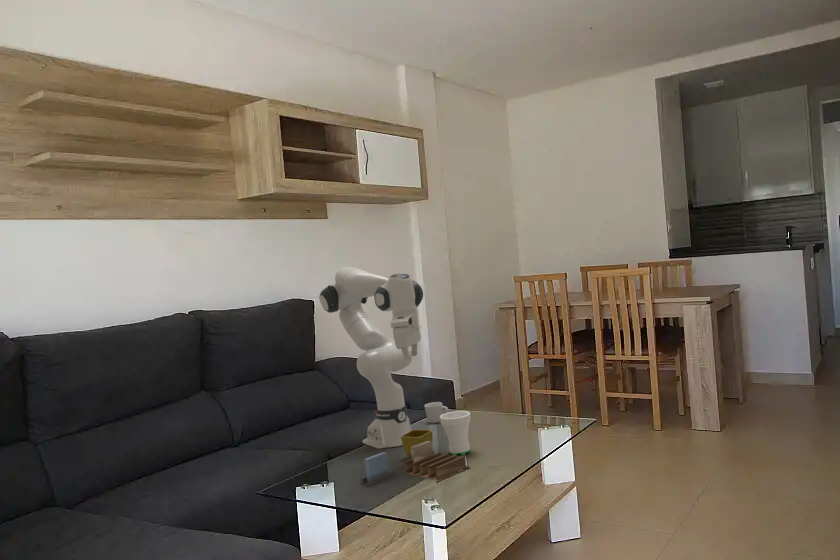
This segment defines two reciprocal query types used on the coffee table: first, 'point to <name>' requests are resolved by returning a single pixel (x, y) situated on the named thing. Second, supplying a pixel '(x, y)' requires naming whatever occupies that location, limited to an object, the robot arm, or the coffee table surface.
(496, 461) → the coffee table surface
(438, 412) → the cup
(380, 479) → the stand
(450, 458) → the rack
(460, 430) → the cup
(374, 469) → the upright blue tile
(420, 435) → the flower pot
